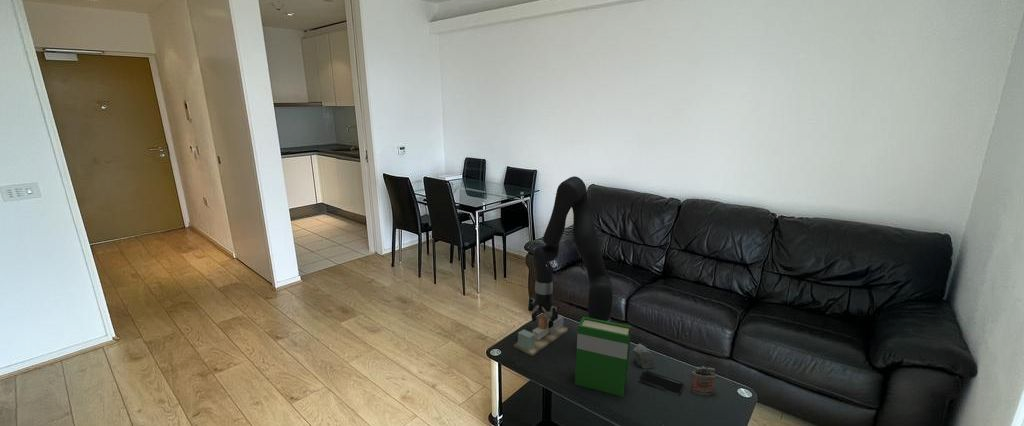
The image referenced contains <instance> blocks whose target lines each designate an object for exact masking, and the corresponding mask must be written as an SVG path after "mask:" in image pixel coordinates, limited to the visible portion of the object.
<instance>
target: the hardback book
mask: <svg viewBox="0 0 1024 426" xmlns="http://www.w3.org/2000/svg"><path fill="white" fill-rule="evenodd" d="M631 336H632V326H631V325H627V324H622V323H616V322H612V321H610V322H607V321H602V320H597V319H592V318H588V316H587V317H586V316H582V318H581V320H580V322H579V323H578V325H577V337H576V338H577V339H576V358H575V370H574V371H575V374H574V385H577V386H581V387H584V388H588V389H593V390H595V391H600V392H603V393H608V394H612V395H615V396H619V397H622V398H624V394H625V387H626V386H627V381H628V380H627V379H628V371H629V370H628V369H629V358H630V348H631Z"/></svg>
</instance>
